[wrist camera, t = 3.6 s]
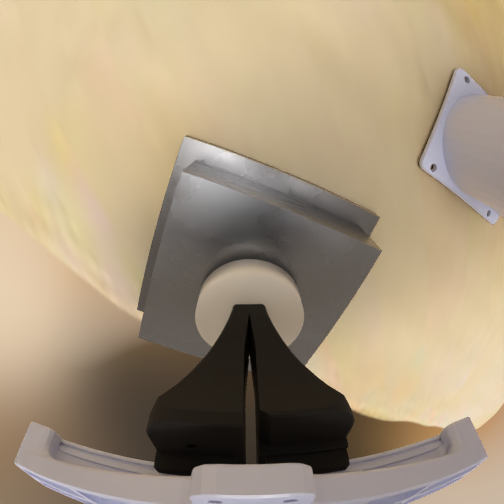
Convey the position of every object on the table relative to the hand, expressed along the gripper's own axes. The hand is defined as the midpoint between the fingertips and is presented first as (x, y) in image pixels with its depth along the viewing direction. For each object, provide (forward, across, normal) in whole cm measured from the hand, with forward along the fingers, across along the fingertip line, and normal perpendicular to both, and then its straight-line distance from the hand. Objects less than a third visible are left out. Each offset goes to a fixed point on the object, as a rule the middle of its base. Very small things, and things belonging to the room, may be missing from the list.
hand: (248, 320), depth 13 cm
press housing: (+6, 0, 0) cm, 6 cm away
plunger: (+5, 0, 0) cm, 5 cm away
